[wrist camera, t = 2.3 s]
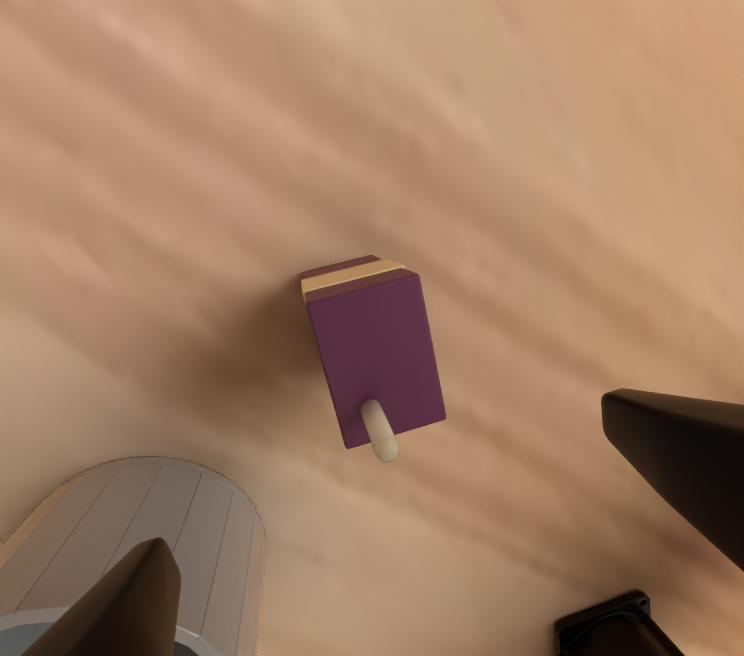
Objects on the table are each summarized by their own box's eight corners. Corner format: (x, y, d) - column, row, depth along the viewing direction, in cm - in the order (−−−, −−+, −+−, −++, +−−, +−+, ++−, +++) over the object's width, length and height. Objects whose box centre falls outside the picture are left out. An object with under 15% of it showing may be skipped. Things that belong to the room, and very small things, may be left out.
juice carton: (373, 253, 18) (456, 284, 9) (395, 351, 19) (486, 468, 10) (299, 271, 17) (304, 324, 8) (326, 370, 19) (357, 510, 10)
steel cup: (227, 427, 18) (184, 556, 11) (291, 599, 21) (289, 788, 14) (-23, 499, 17) (-249, 696, 10) (83, 670, 20) (-33, 916, 13)
